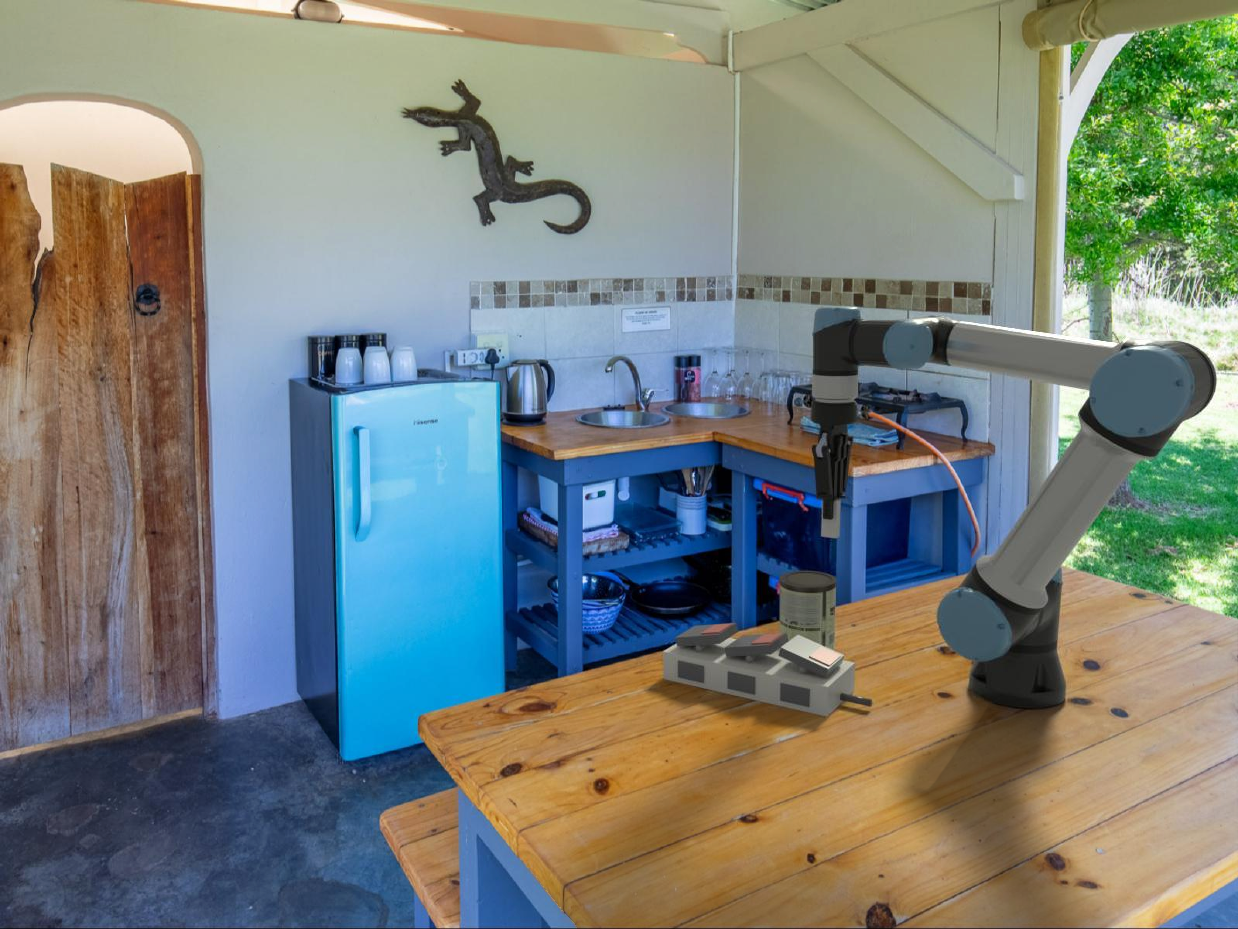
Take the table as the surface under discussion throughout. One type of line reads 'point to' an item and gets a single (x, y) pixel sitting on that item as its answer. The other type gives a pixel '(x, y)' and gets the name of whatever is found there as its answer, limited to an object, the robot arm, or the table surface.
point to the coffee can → (808, 606)
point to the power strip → (761, 678)
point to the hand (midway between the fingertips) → (830, 536)
